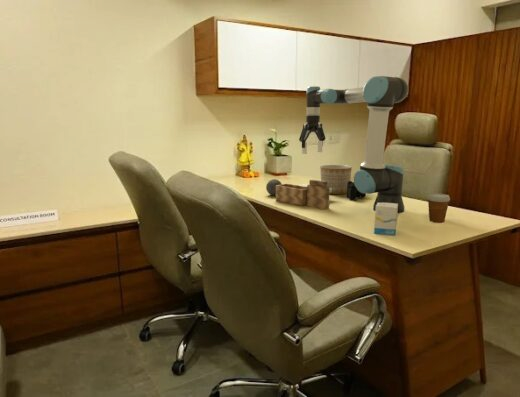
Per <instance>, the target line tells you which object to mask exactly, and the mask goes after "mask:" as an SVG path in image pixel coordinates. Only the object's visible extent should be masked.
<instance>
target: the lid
mask: <svg viewBox="0 0 520 397" xmlns="http://www.w3.org/2000/svg"><path fill="white" fill-rule="evenodd" d="M298 185H299V186H305V187H307V185H309V183H301V184H300V183H299V184H298ZM330 192H332V188H329V193H330Z"/></svg>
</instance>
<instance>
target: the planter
mask: <svg viewBox="0 0 520 397" xmlns="http://www.w3.org/2000/svg"><path fill="white" fill-rule="evenodd" d="M319 169H320V181H325V182H327V187H329V188H332V192H330V193H329V195H331V196H332V195H334V196H335V195H336V196H342V195H347V184H348V181H351V177H352V169H353V167H352V165H346V164H326V165H321V166H320V168H319Z"/></svg>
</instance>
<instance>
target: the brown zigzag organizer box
mask: <svg viewBox="0 0 520 397" xmlns="http://www.w3.org/2000/svg"><path fill="white" fill-rule="evenodd" d="M299 185H300V184H291V183H282V184H281V185H276V196H275V202H280V203H284V204H289V205H293V206H298V207H305V206H307V207H309V208H310V207H311V208H315V209H320V210H329V209H330V194H329V187H321V186H315V185H307V187H305V186H299Z"/></svg>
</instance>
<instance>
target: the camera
mask: <svg viewBox="0 0 520 397" xmlns="http://www.w3.org/2000/svg"><path fill="white" fill-rule="evenodd" d="M346 197H347V199H348V200H349V201H352V200H353V201H356V199H358V198H366V197H367V194H363V193H361V192H359V191H358V190H357V188H356V187H355V184H354V181H352V180H350V181H348V184H347V194H346ZM353 201H352V202H353Z"/></svg>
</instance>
